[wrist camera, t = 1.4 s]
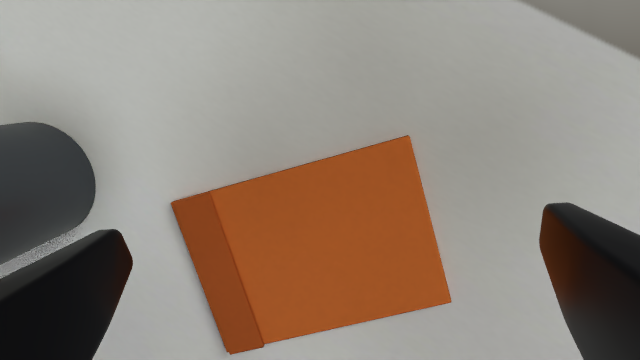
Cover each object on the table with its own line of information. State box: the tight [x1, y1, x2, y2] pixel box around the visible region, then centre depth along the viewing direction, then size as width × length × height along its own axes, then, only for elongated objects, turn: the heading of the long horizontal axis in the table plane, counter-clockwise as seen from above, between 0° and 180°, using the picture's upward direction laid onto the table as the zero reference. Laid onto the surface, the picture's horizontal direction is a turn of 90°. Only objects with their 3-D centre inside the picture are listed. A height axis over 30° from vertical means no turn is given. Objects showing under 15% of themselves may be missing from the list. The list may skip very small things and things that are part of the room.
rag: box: [171, 135, 451, 354], centre depth 24 cm, size 10×14×1 cm
